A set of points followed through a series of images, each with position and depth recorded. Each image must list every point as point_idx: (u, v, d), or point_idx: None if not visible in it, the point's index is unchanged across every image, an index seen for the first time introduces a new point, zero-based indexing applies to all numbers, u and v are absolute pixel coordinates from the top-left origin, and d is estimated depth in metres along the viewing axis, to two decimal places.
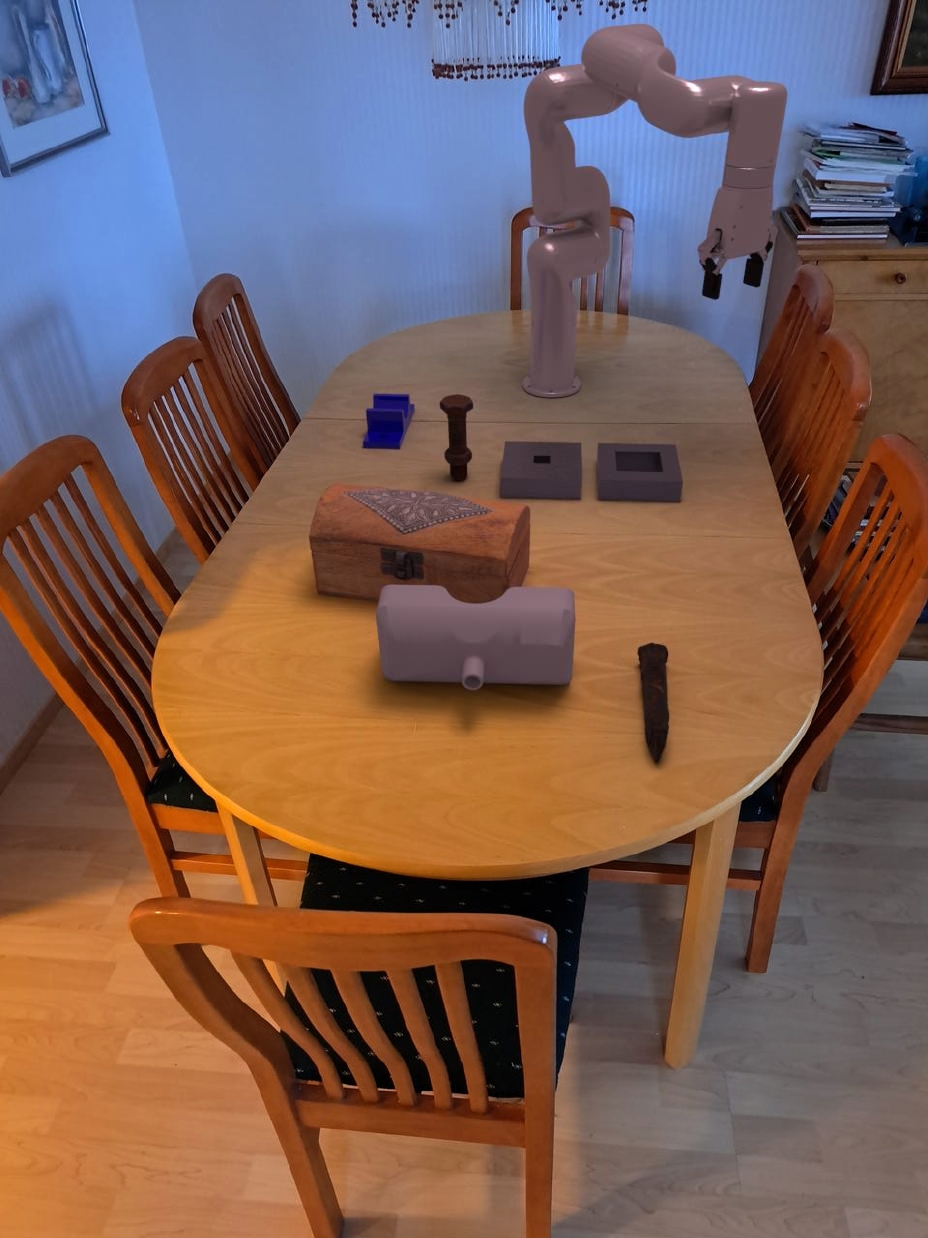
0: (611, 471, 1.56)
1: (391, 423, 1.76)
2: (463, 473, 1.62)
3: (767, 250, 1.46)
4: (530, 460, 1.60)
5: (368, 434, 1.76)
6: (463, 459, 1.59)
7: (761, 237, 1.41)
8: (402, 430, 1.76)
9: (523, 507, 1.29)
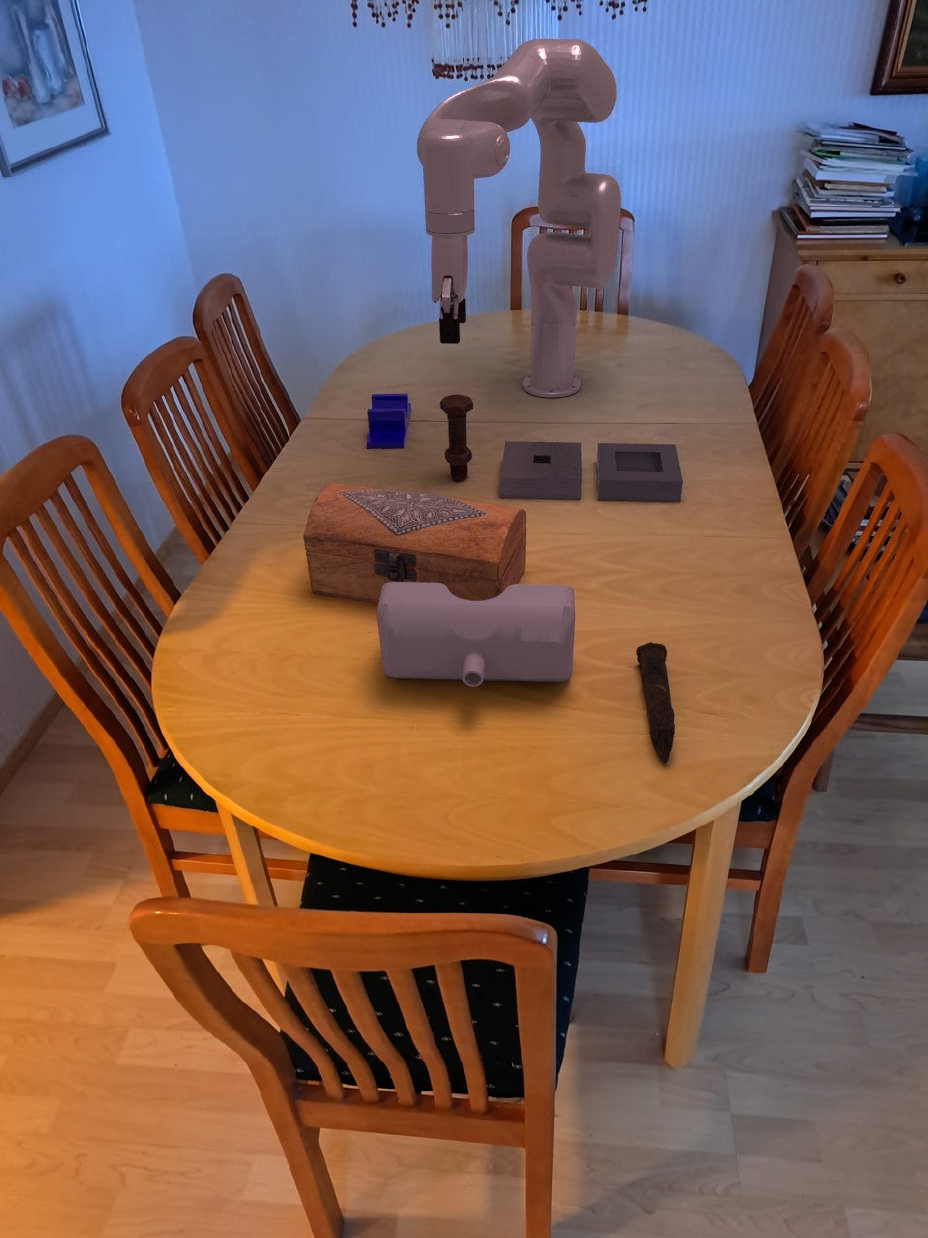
0: (611, 471, 1.56)
1: (393, 423, 1.76)
2: (463, 473, 1.62)
3: None
4: (530, 460, 1.60)
5: (370, 435, 1.76)
6: (463, 459, 1.59)
7: None
8: (404, 429, 1.77)
9: (518, 510, 1.29)
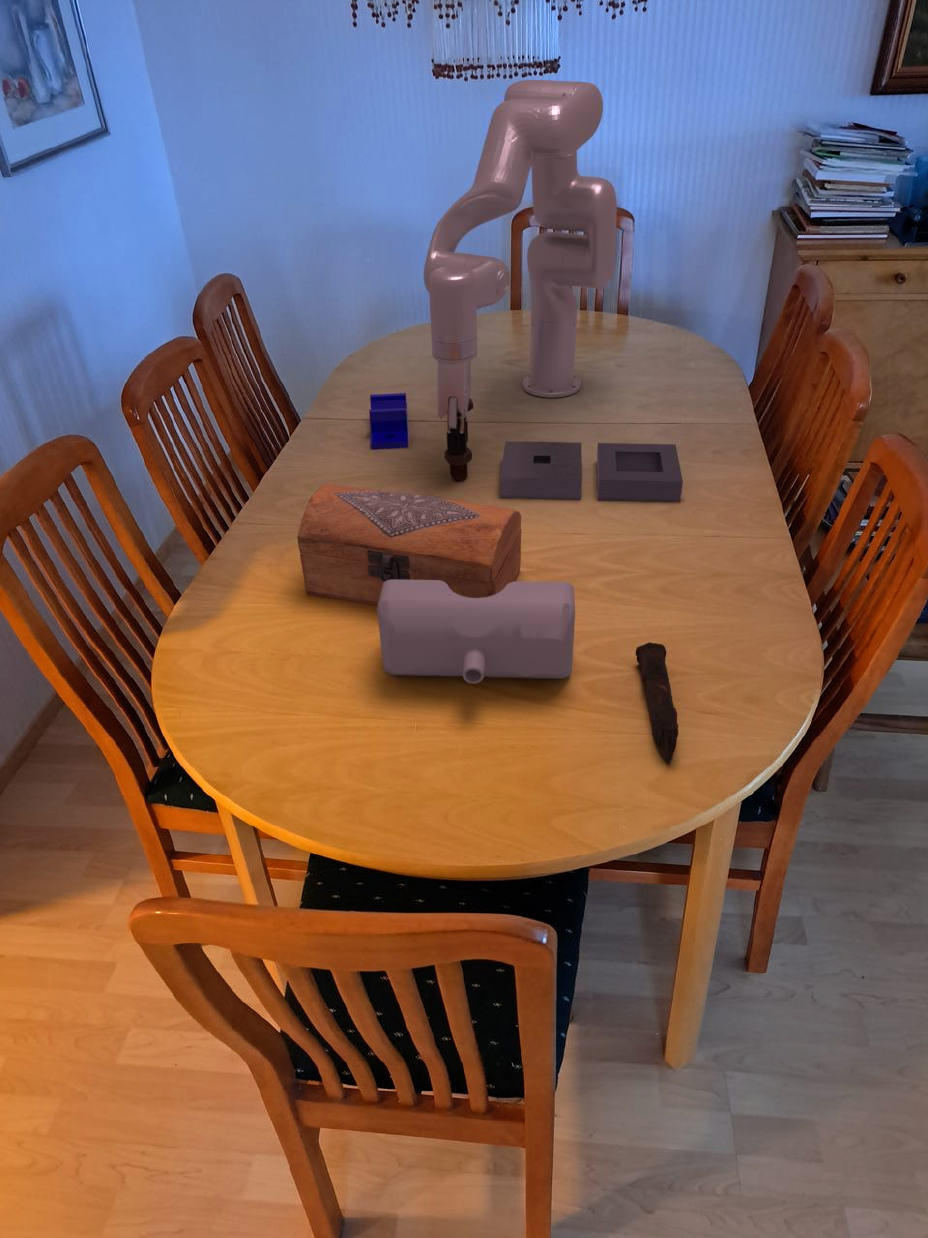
0: (611, 471, 1.56)
1: (395, 423, 1.76)
2: (463, 473, 1.62)
3: None
4: (530, 460, 1.60)
5: (373, 435, 1.76)
6: (463, 459, 1.59)
7: (470, 390, 1.56)
8: (406, 429, 1.77)
9: (512, 512, 1.28)
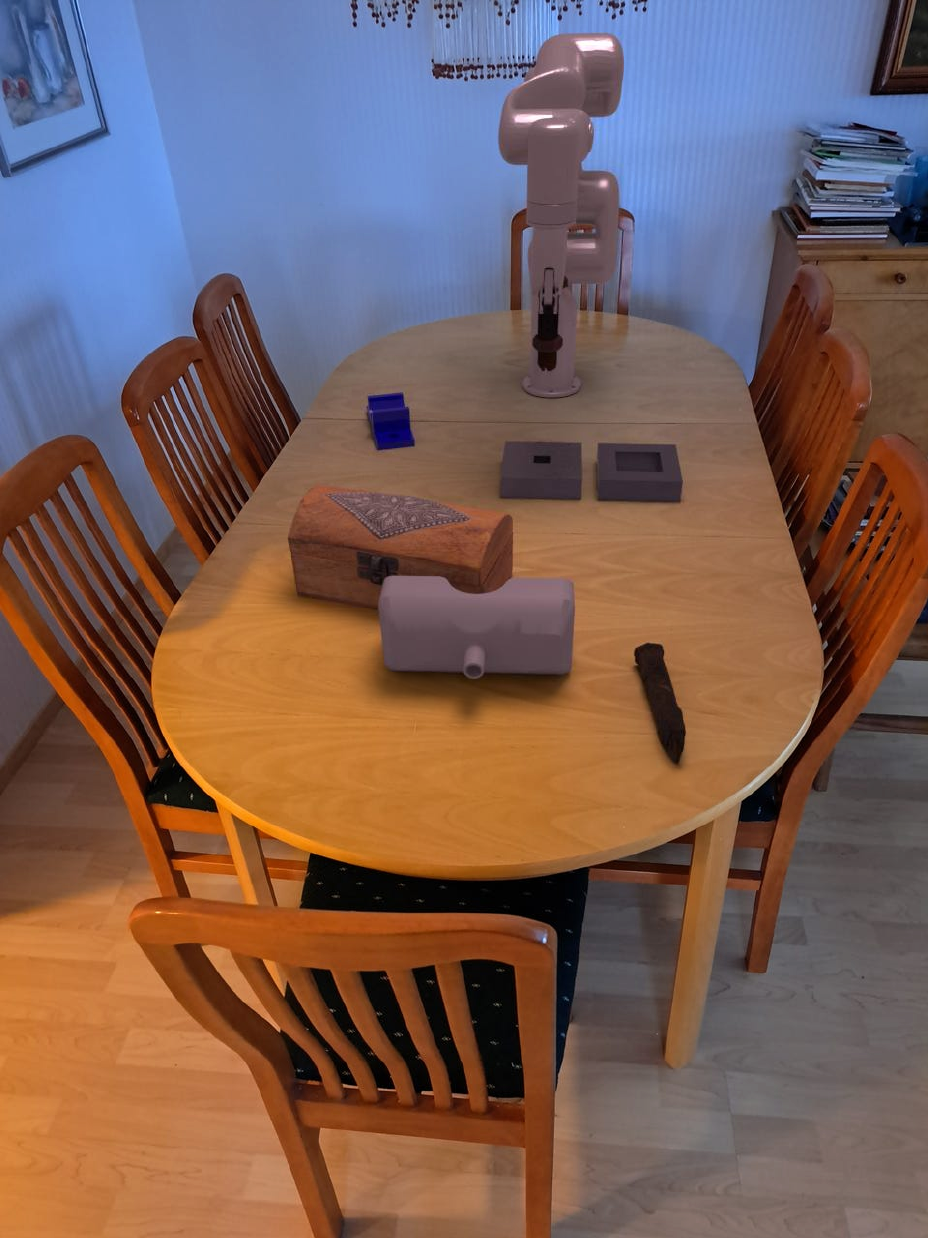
0: (611, 471, 1.56)
1: (398, 422, 1.76)
2: (552, 362, 1.48)
3: None
4: (530, 460, 1.60)
5: (377, 436, 1.75)
6: (554, 345, 1.45)
7: None
8: (409, 427, 1.77)
9: (503, 516, 1.28)
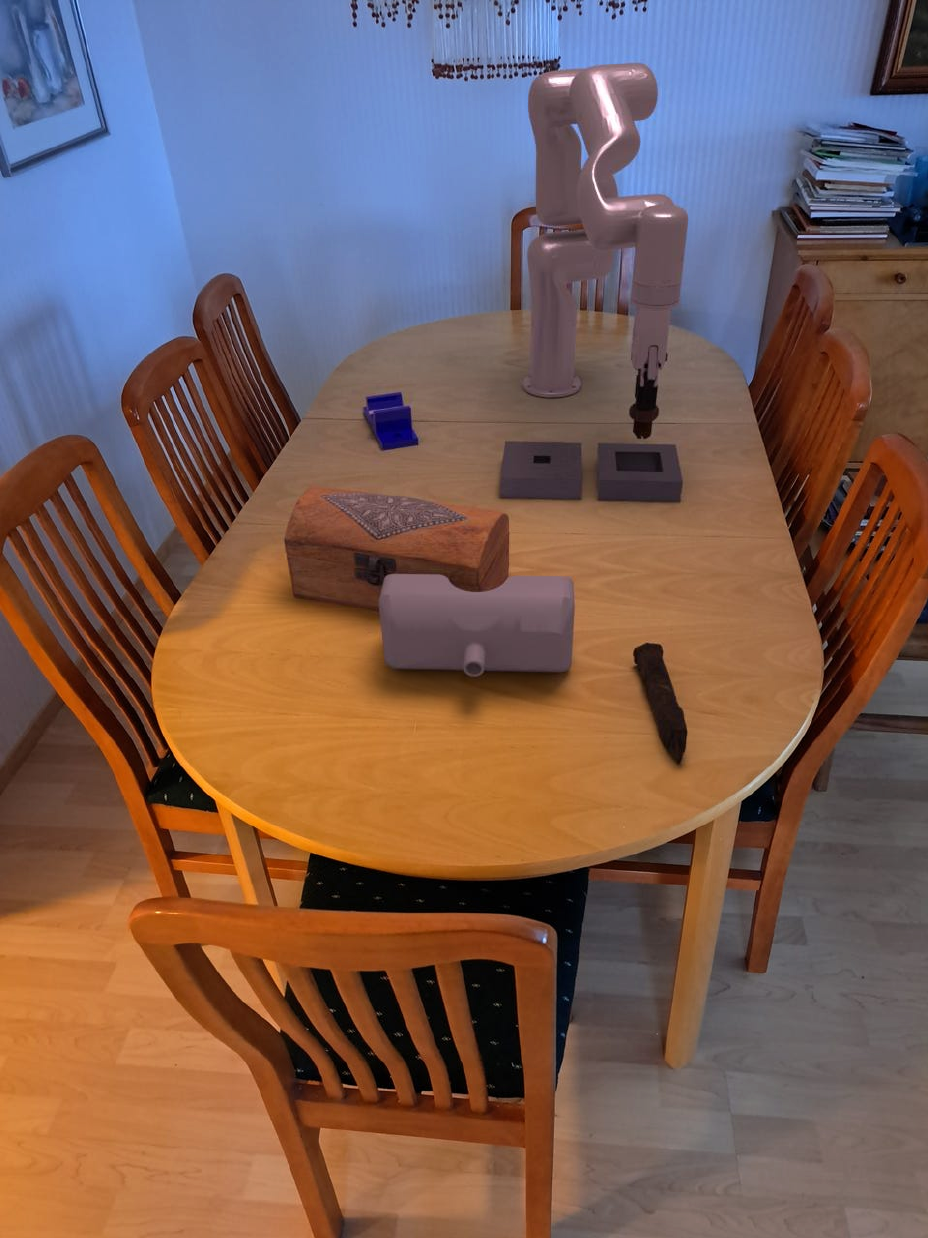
0: (611, 471, 1.56)
1: (399, 422, 1.76)
2: (648, 431, 1.53)
3: None
4: (530, 460, 1.60)
5: (380, 436, 1.75)
6: (652, 415, 1.51)
7: None
8: (410, 426, 1.78)
9: (499, 515, 1.28)
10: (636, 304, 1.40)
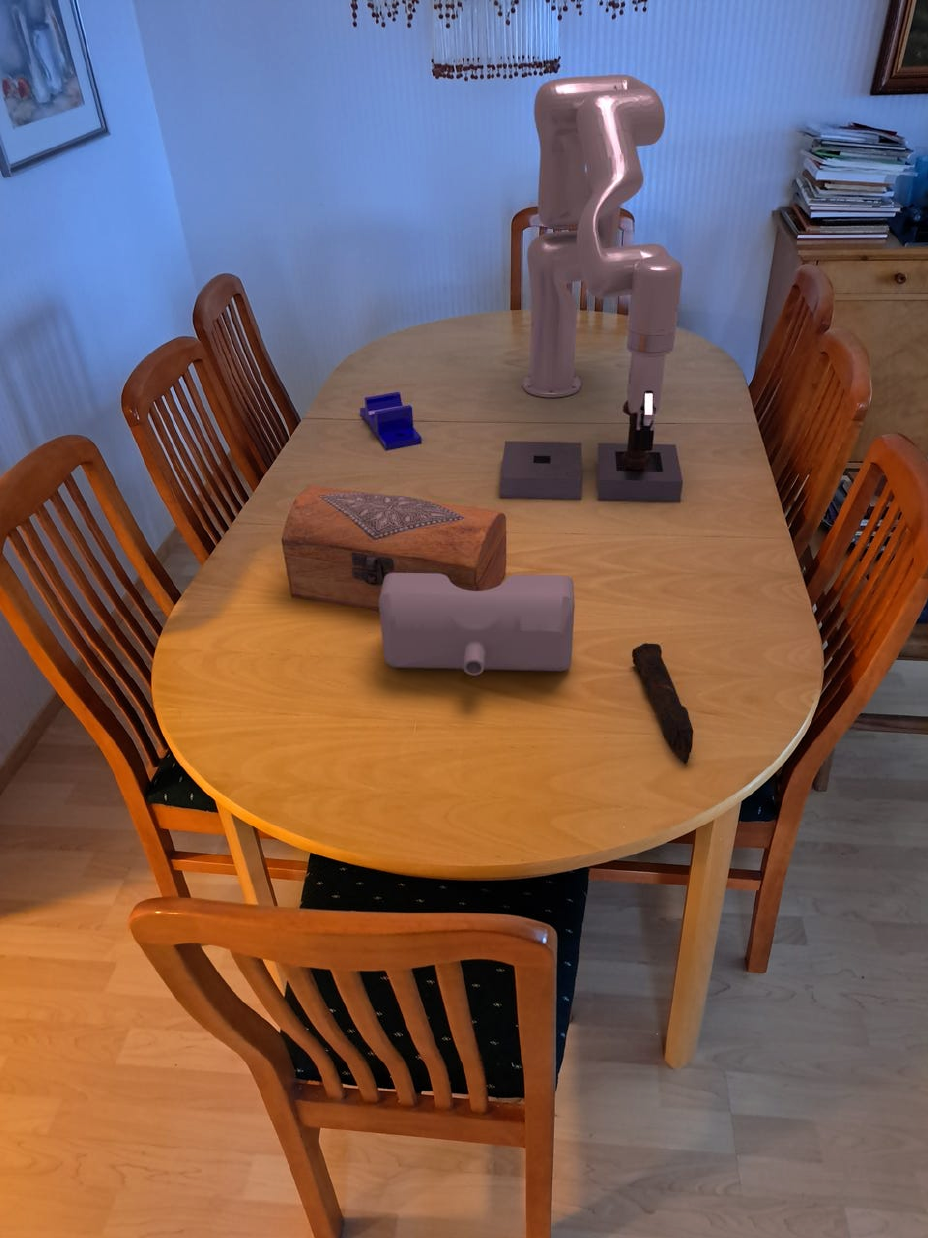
0: (611, 471, 1.56)
1: (401, 421, 1.76)
2: None
3: None
4: (530, 460, 1.60)
5: (383, 436, 1.75)
6: (643, 463, 1.56)
7: None
8: (412, 426, 1.78)
9: (497, 514, 1.28)
10: (632, 351, 1.44)
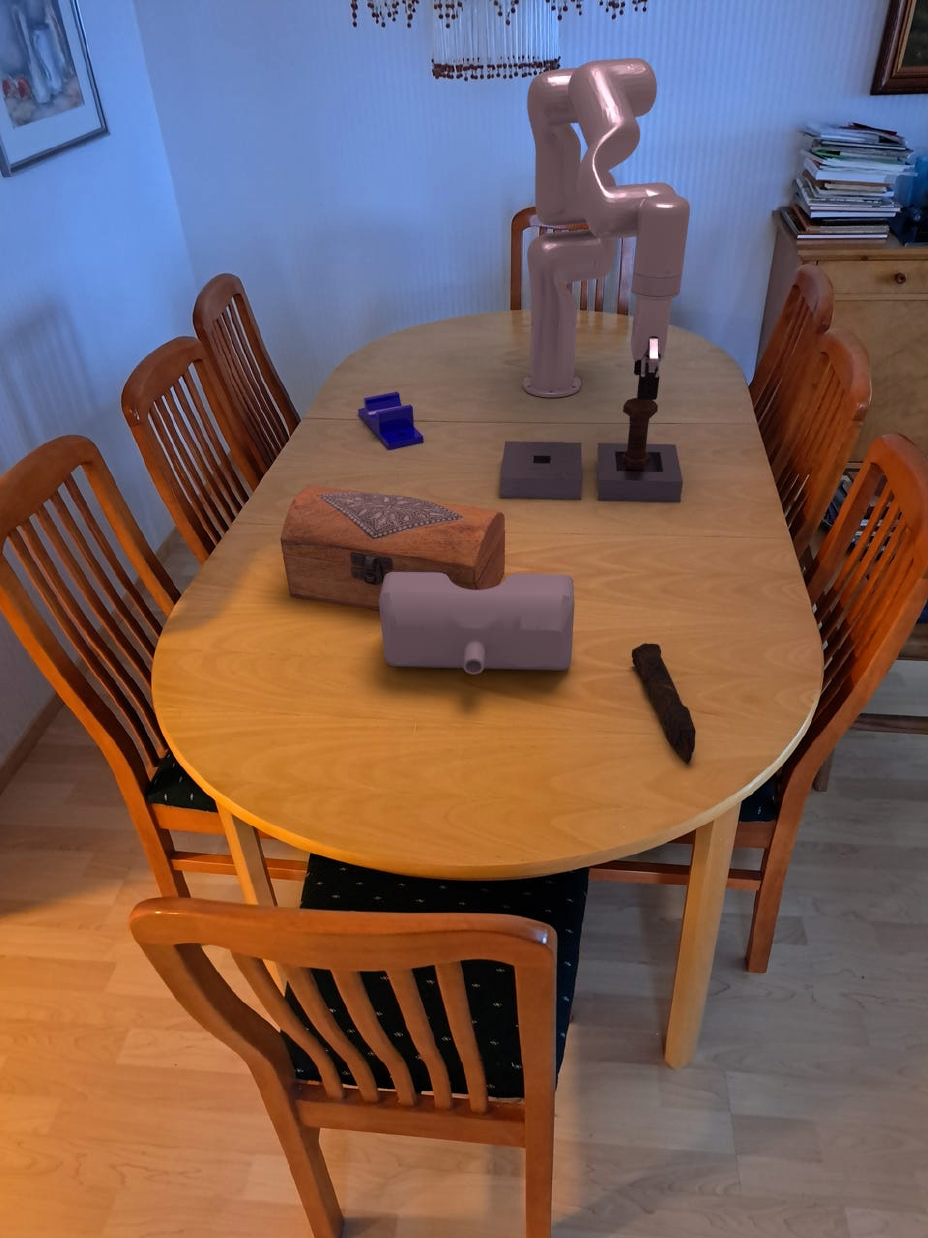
0: (611, 471, 1.56)
1: (402, 421, 1.77)
2: None
3: None
4: (530, 460, 1.60)
5: (385, 436, 1.75)
6: (643, 463, 1.56)
7: None
8: (412, 425, 1.78)
9: (495, 513, 1.28)
10: (636, 294, 1.39)
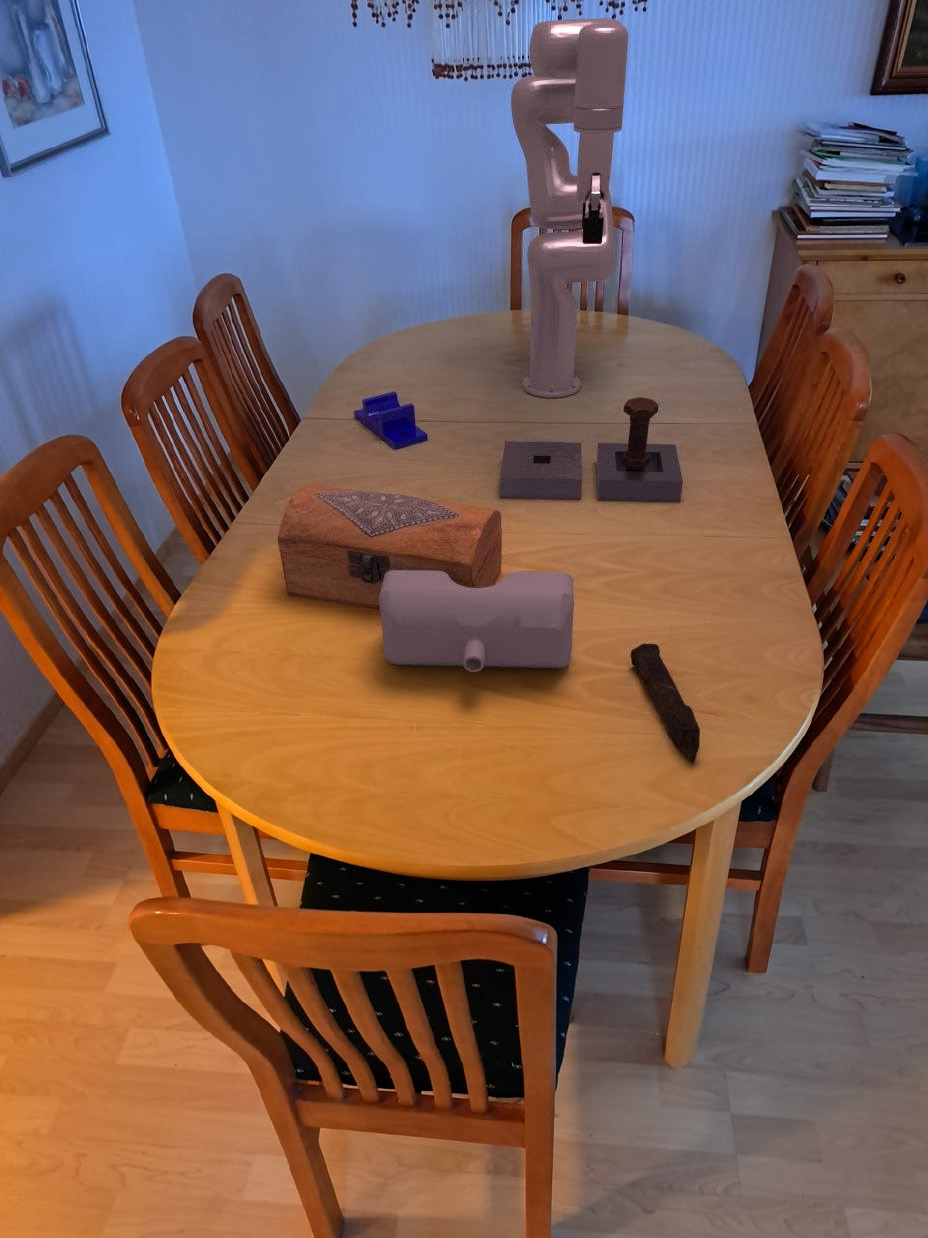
0: (611, 471, 1.56)
1: (404, 420, 1.77)
2: None
3: None
4: (530, 460, 1.60)
5: (389, 436, 1.75)
6: (643, 463, 1.56)
7: None
8: (414, 424, 1.79)
9: (492, 512, 1.29)
10: (578, 130, 1.39)
